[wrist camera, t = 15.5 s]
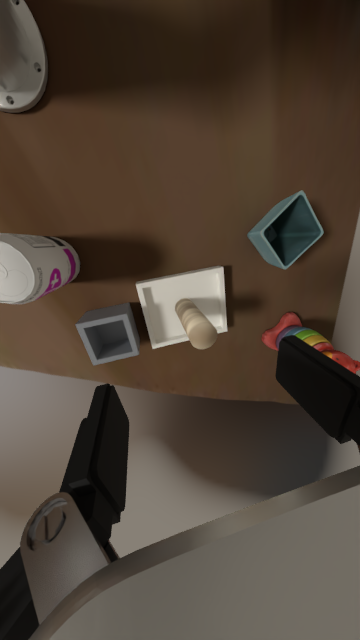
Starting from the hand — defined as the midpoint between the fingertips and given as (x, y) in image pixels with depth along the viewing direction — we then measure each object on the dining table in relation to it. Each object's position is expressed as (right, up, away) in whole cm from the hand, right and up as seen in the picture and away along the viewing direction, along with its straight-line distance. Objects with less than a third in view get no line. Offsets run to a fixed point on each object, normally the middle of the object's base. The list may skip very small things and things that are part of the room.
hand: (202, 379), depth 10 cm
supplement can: (-24, +14, +24) cm, 37 cm away
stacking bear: (+27, 0, +40) cm, 48 cm away
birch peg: (0, +6, +31) cm, 31 cm away
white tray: (0, +6, +31) cm, 32 cm away
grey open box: (-16, +2, +30) cm, 34 cm away
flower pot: (+16, +21, +29) cm, 39 cm away
